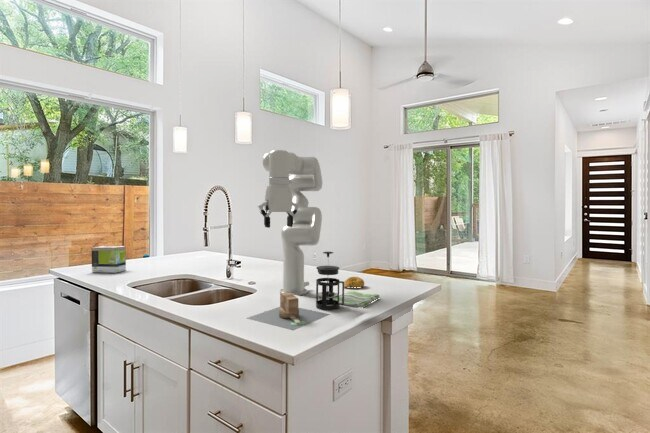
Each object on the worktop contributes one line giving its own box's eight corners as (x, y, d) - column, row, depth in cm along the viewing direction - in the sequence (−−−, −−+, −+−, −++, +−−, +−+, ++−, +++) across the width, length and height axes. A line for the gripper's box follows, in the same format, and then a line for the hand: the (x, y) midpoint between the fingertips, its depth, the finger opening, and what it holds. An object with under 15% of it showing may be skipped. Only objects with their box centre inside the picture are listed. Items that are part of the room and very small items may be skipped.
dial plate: (285, 308, 148) (285, 304, 148) (329, 318, 137) (329, 313, 137) (246, 322, 131) (246, 317, 131) (293, 334, 119) (293, 329, 119)
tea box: (126, 270, 226) (126, 245, 225) (115, 273, 216) (115, 247, 215) (103, 269, 227) (102, 245, 227) (91, 272, 217) (90, 247, 217)
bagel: (338, 286, 189) (339, 276, 189) (357, 284, 194) (358, 275, 194) (348, 290, 180) (348, 280, 180) (368, 288, 185) (368, 279, 185)
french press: (310, 312, 143) (310, 252, 142) (318, 306, 152) (318, 249, 151) (340, 315, 140) (340, 254, 139) (346, 309, 149) (347, 251, 148)
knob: (275, 312, 137) (275, 293, 137) (293, 310, 140) (293, 291, 139) (288, 325, 123) (288, 303, 123) (308, 322, 126) (308, 301, 126)
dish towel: (319, 306, 154) (319, 297, 154) (346, 294, 174) (346, 287, 173) (356, 313, 145) (356, 304, 145) (381, 300, 164) (381, 292, 164)
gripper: (293, 183, 153) (293, 225, 154) (254, 182, 143) (254, 227, 144) (303, 183, 147) (302, 226, 148) (262, 181, 137) (262, 228, 138)
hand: (278, 226), depth 146 cm, fingers open, 9 cm apart
